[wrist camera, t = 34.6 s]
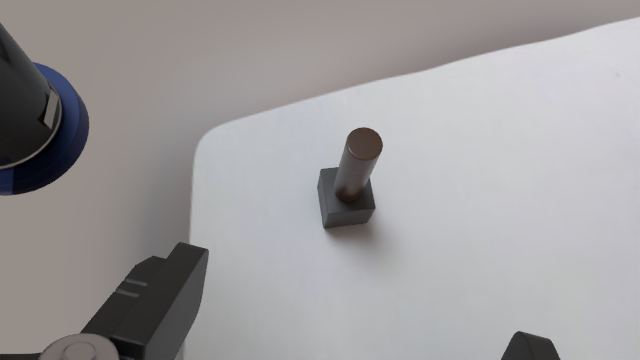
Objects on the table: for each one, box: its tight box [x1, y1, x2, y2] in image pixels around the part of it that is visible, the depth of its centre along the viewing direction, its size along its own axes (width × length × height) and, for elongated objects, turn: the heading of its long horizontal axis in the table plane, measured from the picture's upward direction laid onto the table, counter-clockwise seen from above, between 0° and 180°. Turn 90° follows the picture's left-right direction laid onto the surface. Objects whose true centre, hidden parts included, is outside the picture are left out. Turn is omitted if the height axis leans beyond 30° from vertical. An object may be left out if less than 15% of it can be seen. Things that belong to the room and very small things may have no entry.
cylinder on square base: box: [317, 128, 383, 228], centre depth 35 cm, size 4×4×12 cm
